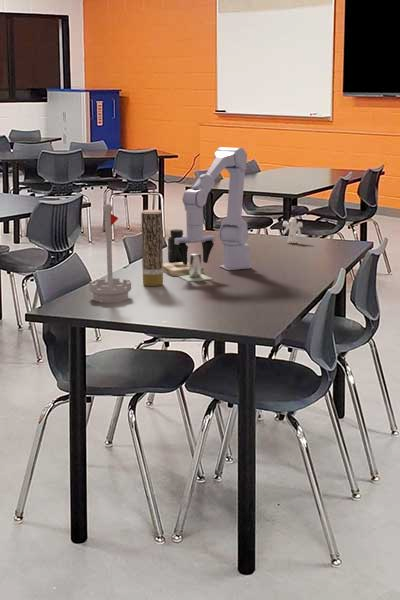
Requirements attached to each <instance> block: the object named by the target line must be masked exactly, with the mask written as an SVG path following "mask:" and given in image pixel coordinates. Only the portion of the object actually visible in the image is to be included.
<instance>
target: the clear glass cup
mask: <svg viewBox="0 0 400 600" xmlns="http://www.w3.org/2000/svg"><path fill="white" fill-rule="evenodd" d="M188 255H189V258H188V259H189V261H188V262H189V277H190V278H200V277H201V267H202V265H201V264H202V257H201V256H202V254H201V253H190V254H188Z"/></svg>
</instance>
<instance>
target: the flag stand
mask: <svg viewBox="0 0 400 600" xmlns="http://www.w3.org/2000/svg"><path fill="white" fill-rule="evenodd" d="M102 210H103V212H104V213H105V234H106V235H105V236H106V239H105V241H106V263H107V264H106V265H107V267H106V268H107V271H106V272H107V281H106V279H105V278H102V277H101V278H97V279H96V280H91V281H90V282H89V291H90V292H91V293H92V300H93V299H94V300H93V301H95V300H96V301H95V302H97V301H102V302H101V303H119V302H124V301H126V300H129V292H130V291H131V290H132V282H131V280H130V279H127V278H124V279H123V280H122V281H120V278H119V277H113V254H112V253H113V252H112V250H113V249H112V226H113V225H114V224H115V222H116V221H118V220H119V217H118V216H116V215H114V214H113V213H112V212H113V205H112V204H110V203H106V204H104V206H103V208H102Z"/></svg>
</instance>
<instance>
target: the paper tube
mask: <svg viewBox="0 0 400 600" xmlns="http://www.w3.org/2000/svg"><path fill="white" fill-rule="evenodd" d="M140 217H141V218H140V219H141V251H142V252H141V253H142V254H141V255H142V256H141V258H142V260H141V261H142V285H143V286H145V287H160V286H162V285H163V283H164V272H163V264H164V261H163V255H164V254H163V211H162V210H161V209H144V210H143V209H142V210H141V216H140Z"/></svg>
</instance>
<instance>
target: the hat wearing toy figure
mask: <svg viewBox="0 0 400 600" xmlns="http://www.w3.org/2000/svg"><path fill="white" fill-rule="evenodd" d="M299 218H300V215H299V214H298V215H295V216H291V217H290V219H289V220H284V221H282V222H283V223H282V227H284V230H283V232H282V234H283V235H285V234H287V232H288V237H287V242H288V241H292V242H293V241H297V242H298V240H297V235H298V237H301V235H302V232H301V228H303V222H302V221H298V222H297V220H298V219H299Z"/></svg>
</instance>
